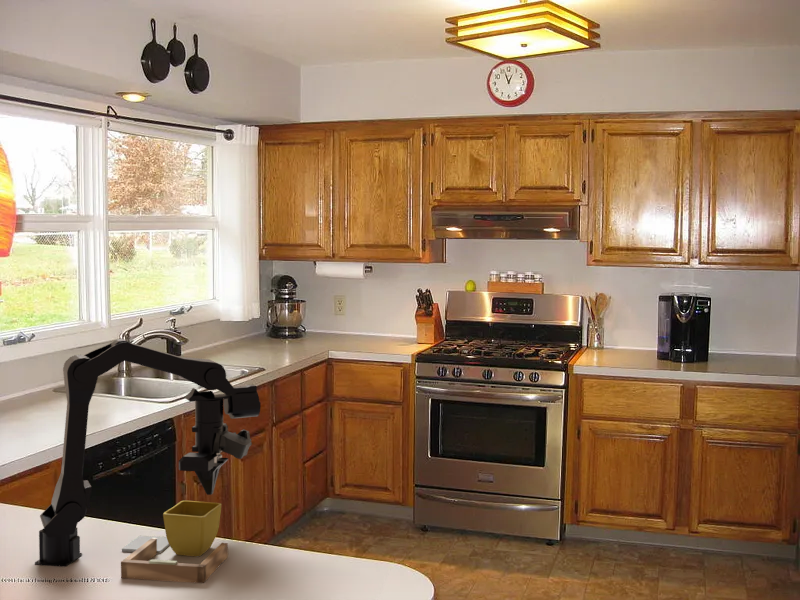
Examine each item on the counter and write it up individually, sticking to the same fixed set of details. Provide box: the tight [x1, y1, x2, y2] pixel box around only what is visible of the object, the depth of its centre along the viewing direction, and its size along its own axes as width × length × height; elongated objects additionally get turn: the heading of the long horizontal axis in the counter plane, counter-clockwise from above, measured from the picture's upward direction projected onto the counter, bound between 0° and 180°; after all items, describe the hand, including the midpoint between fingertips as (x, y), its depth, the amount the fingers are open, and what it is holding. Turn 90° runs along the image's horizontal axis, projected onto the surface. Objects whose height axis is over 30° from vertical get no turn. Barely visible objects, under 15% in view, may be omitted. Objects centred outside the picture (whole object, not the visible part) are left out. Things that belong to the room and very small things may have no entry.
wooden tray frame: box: [120, 539, 229, 584], centre depth 160 cm, size 13×16×3 cm
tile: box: [121, 535, 170, 555], centre depth 172 cm, size 8×8×1 cm
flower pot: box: [162, 500, 222, 557], centre depth 168 cm, size 9×9×9 cm
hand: (209, 494), depth 177 cm, fingers closed
